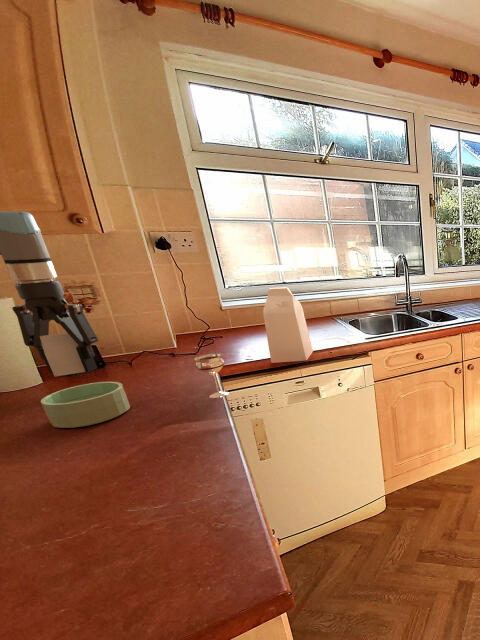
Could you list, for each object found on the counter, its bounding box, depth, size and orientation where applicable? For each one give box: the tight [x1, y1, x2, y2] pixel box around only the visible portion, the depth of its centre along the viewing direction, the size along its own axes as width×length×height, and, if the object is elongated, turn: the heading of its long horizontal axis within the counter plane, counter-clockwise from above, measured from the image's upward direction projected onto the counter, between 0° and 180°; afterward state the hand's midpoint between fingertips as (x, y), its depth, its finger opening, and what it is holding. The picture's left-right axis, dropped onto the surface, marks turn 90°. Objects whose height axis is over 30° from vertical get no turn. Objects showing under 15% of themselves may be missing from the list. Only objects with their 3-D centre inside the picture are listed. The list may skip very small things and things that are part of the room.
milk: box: [262, 287, 314, 364], centre depth 156 cm, size 12×12×26 cm
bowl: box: [40, 381, 131, 429], centre depth 113 cm, size 16×16×7 cm
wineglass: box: [193, 352, 229, 399], centre depth 125 cm, size 7×7×12 cm
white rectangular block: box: [40, 332, 86, 377], centre depth 107 cm, size 4×7×10 cm, turn 126°
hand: (74, 370), depth 109 cm, fingers closed on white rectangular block, 8 cm apart
